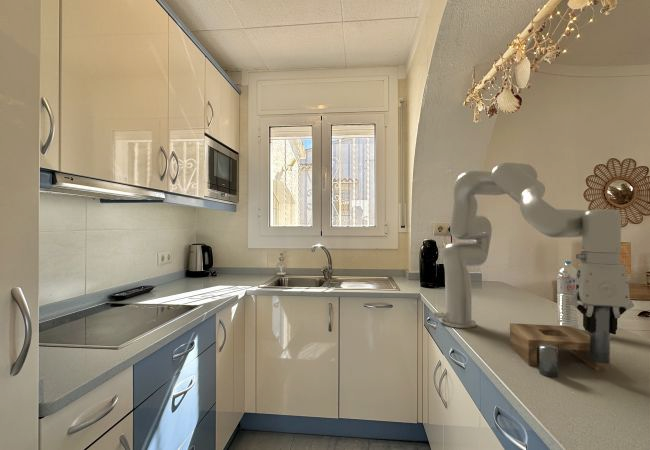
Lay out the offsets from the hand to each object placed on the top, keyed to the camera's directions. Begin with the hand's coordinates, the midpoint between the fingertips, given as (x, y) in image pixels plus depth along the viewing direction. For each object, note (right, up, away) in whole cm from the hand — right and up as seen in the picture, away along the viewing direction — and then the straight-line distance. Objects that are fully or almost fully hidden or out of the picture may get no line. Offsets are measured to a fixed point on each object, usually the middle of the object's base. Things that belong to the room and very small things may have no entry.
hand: (599, 331), depth 85 cm
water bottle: (+20, -12, +39) cm, 46 cm away
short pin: (-11, -12, +2) cm, 16 cm away
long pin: (0, -7, 0) cm, 7 cm away
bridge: (-3, -12, +13) cm, 18 cm away
